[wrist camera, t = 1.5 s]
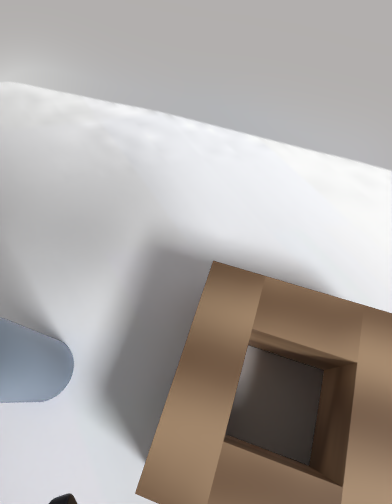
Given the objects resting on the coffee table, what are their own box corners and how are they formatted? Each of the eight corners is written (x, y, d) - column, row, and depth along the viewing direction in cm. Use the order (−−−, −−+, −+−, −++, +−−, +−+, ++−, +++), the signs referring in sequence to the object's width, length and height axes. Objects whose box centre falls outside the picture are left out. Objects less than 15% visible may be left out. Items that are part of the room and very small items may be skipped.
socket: (358, 555, 17) (414, 612, 13) (151, 470, 19) (135, 493, 14) (378, 338, 22) (424, 323, 17) (211, 287, 24) (213, 260, 19)
